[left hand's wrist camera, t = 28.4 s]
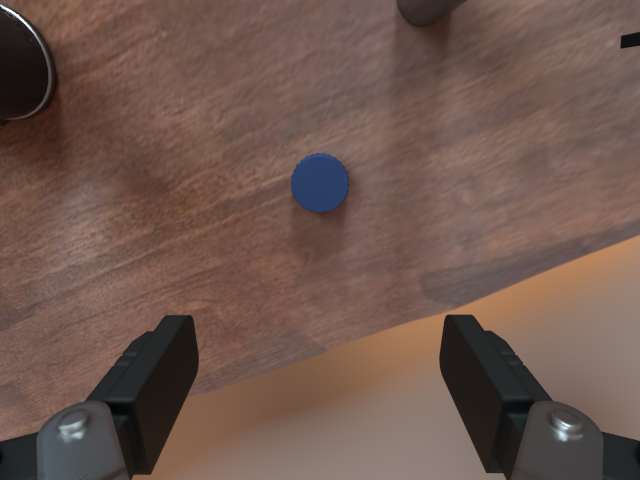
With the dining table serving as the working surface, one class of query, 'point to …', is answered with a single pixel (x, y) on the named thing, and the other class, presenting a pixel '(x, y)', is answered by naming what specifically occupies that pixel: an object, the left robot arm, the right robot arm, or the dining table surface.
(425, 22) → the brown cylinder
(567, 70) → the dining table surface
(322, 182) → the lid
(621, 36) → the right robot arm
